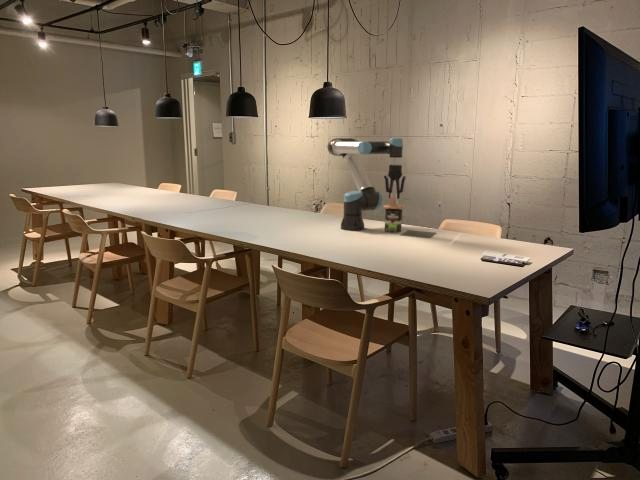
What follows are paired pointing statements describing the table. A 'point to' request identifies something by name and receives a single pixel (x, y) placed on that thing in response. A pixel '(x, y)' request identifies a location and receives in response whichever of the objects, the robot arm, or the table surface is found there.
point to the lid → (393, 204)
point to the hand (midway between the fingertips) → (393, 204)
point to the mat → (418, 234)
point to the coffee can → (393, 220)
